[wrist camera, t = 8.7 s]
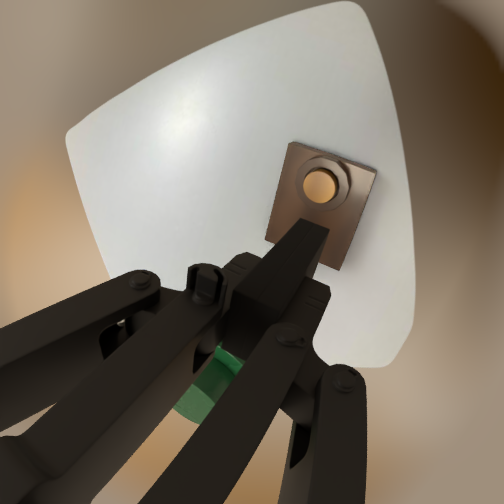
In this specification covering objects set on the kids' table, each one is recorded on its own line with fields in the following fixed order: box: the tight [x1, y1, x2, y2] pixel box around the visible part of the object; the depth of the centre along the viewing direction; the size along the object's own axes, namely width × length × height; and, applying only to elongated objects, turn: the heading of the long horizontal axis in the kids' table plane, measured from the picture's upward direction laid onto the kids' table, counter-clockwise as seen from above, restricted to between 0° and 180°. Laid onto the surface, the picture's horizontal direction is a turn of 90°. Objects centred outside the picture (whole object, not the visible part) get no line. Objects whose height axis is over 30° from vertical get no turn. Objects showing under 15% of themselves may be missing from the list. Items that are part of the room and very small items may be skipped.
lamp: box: [173, 340, 246, 425], centre depth 32 cm, size 9×9×27 cm
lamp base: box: [265, 142, 377, 271], centre depth 41 cm, size 12×15×4 cm
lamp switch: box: [303, 169, 337, 203], centre depth 37 cm, size 4×4×2 cm
